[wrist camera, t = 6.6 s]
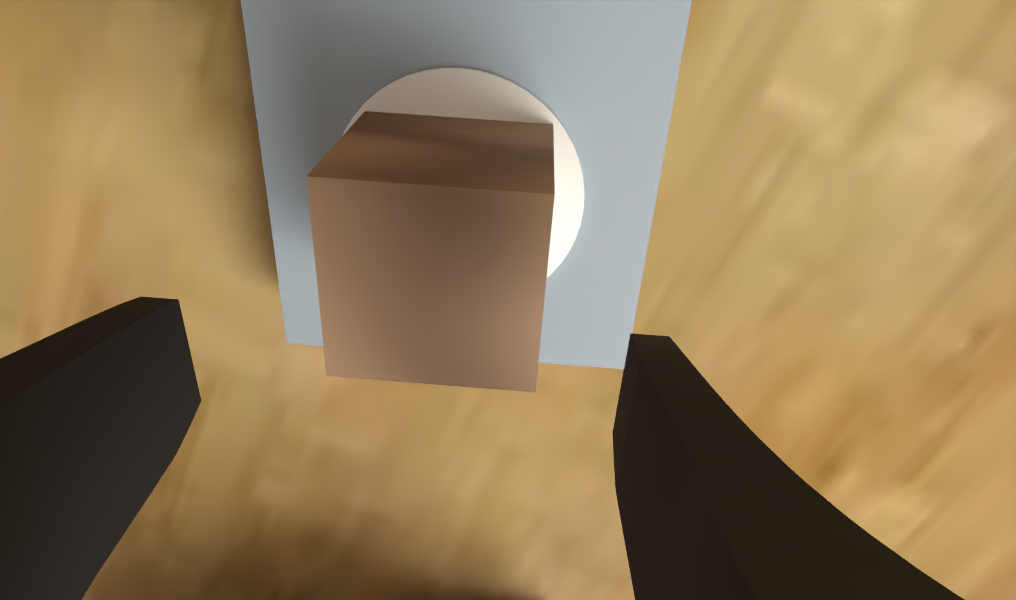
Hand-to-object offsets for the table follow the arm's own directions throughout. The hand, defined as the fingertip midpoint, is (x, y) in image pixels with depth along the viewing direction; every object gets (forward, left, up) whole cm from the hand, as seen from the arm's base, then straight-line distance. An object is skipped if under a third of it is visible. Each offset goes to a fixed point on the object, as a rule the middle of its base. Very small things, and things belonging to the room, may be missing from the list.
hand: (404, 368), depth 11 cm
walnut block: (0, 0, -7) cm, 7 cm away
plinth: (0, 0, -10) cm, 10 cm away
